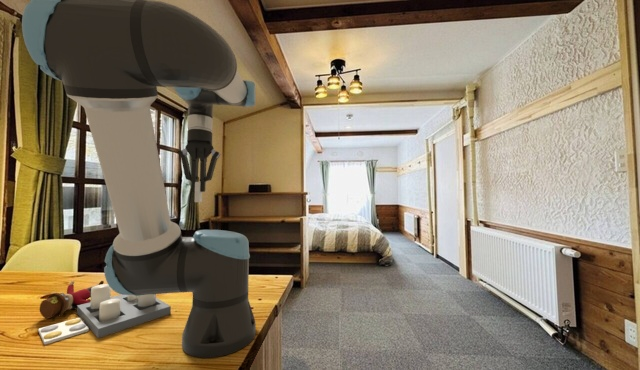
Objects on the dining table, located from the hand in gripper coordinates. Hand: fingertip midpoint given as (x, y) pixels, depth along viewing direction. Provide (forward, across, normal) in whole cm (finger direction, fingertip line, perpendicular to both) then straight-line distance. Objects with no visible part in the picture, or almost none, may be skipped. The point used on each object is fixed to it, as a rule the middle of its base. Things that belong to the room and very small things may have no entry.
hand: (198, 201), depth 85 cm
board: (+29, +14, +13) cm, 35 cm away
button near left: (+29, +14, +18) cm, 37 cm away
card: (+29, +22, +21) cm, 42 cm away
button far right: (+29, +14, +7) cm, 33 cm away
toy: (+30, +29, +7) cm, 42 cm away
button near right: (+27, +9, +13) cm, 31 cm away
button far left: (+27, +20, +13) cm, 36 cm away
